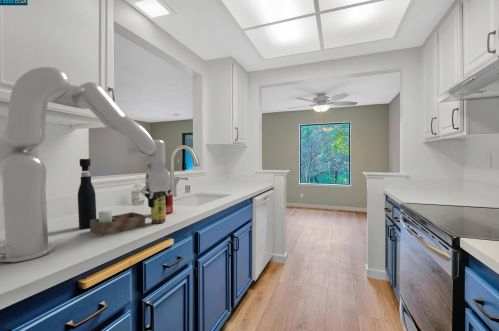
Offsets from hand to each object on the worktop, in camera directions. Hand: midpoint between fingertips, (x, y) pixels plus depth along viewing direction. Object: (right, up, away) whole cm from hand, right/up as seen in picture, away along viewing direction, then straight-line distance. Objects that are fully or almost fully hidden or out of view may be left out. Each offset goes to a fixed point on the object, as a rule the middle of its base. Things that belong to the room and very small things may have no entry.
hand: (158, 205), depth 106 cm
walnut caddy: (-14, -8, -8) cm, 18 cm away
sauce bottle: (0, -8, 0) cm, 8 cm away
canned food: (-3, -8, +18) cm, 20 cm away
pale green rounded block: (-17, -8, -12) cm, 22 cm away
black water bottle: (-29, -9, -5) cm, 31 cm away
